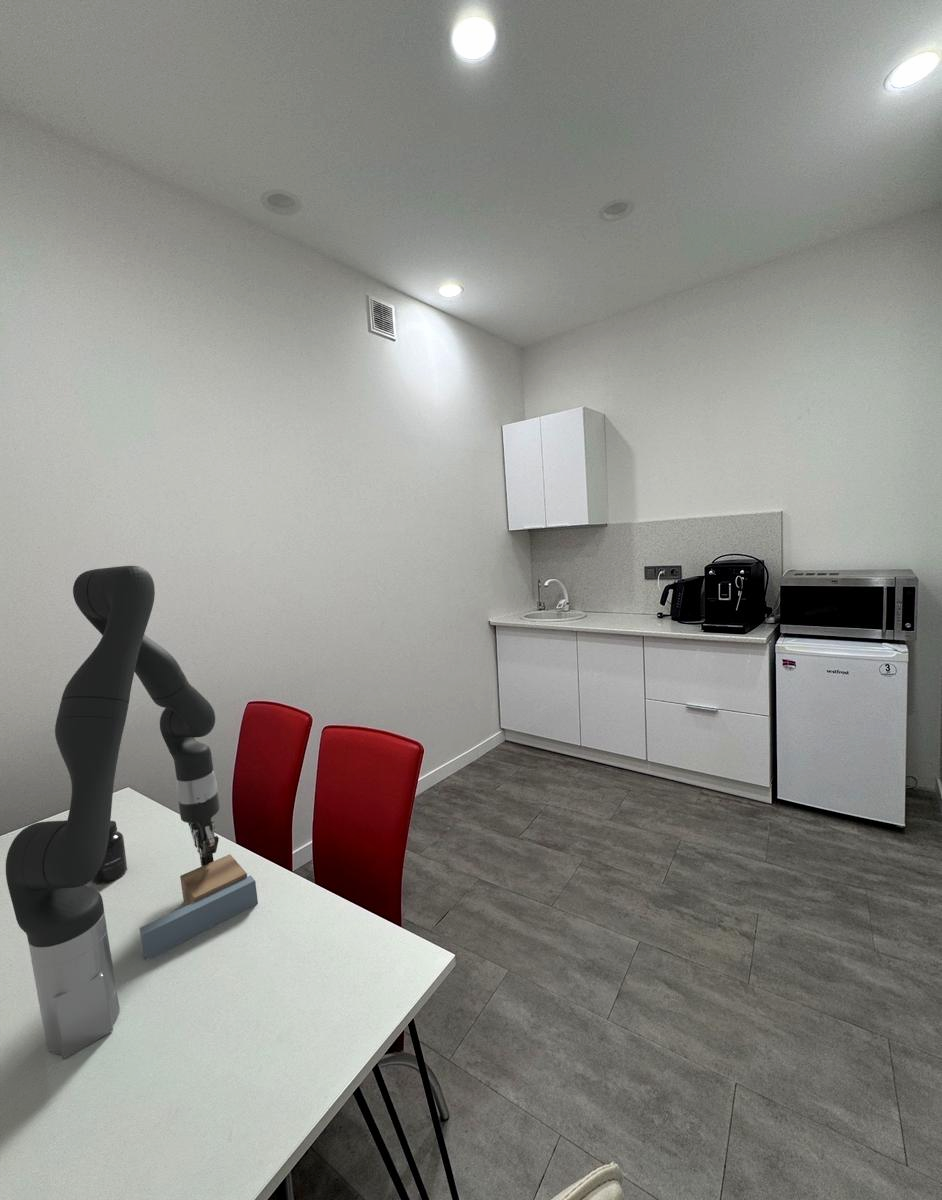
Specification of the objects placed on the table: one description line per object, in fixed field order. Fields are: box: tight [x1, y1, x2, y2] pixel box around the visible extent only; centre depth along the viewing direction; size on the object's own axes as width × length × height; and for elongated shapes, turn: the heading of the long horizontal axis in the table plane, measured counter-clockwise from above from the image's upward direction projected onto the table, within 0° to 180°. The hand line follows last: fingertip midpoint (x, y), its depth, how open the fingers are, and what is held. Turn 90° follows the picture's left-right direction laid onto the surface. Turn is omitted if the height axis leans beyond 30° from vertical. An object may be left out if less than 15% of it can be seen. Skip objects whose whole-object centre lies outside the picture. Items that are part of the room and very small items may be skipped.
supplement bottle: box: [91, 820, 128, 885], centre depth 120 cm, size 7×7×12 cm
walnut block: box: [179, 853, 248, 906], centre depth 109 cm, size 10×10×6 cm
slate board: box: [139, 875, 259, 961], centre depth 102 cm, size 2×20×5 cm, turn 133°
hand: (208, 868), depth 115 cm, fingers closed
